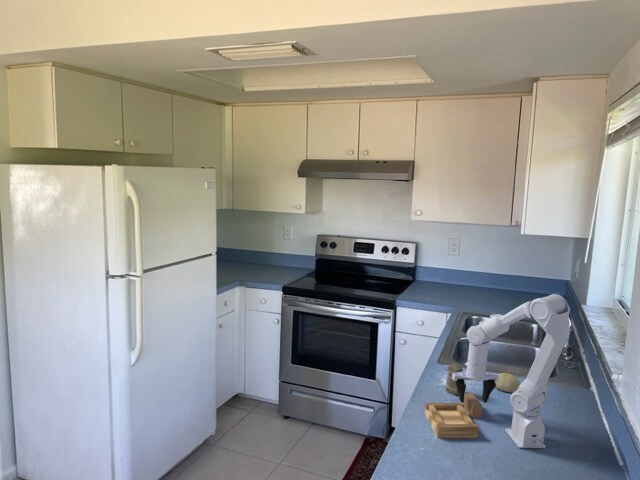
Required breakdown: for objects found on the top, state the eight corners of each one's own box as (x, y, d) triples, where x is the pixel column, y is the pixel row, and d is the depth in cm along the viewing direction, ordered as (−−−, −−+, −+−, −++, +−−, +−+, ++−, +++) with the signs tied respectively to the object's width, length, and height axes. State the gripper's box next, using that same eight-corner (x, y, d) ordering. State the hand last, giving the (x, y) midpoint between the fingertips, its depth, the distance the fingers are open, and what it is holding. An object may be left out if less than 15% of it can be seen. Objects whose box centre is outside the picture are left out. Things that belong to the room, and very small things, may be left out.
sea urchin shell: (489, 385, 176) (495, 364, 180) (491, 393, 182) (496, 373, 186) (516, 392, 172) (521, 371, 175) (518, 400, 177) (522, 380, 181)
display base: (477, 437, 146) (478, 426, 145) (437, 437, 145) (438, 426, 144) (461, 413, 160) (462, 403, 159) (424, 413, 159) (425, 402, 158)
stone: (448, 388, 177) (450, 361, 175) (462, 394, 172) (464, 366, 171) (443, 391, 174) (445, 364, 173) (457, 397, 170) (459, 369, 169)
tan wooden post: (481, 418, 157) (482, 405, 156) (471, 418, 157) (472, 405, 156) (471, 405, 165) (473, 393, 164) (462, 405, 165) (463, 393, 164)
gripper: (494, 356, 162) (489, 395, 165) (450, 356, 161) (446, 394, 164) (503, 365, 155) (498, 405, 158) (458, 365, 154) (454, 405, 157)
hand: (472, 401), depth 160 cm, fingers open, 7 cm apart
